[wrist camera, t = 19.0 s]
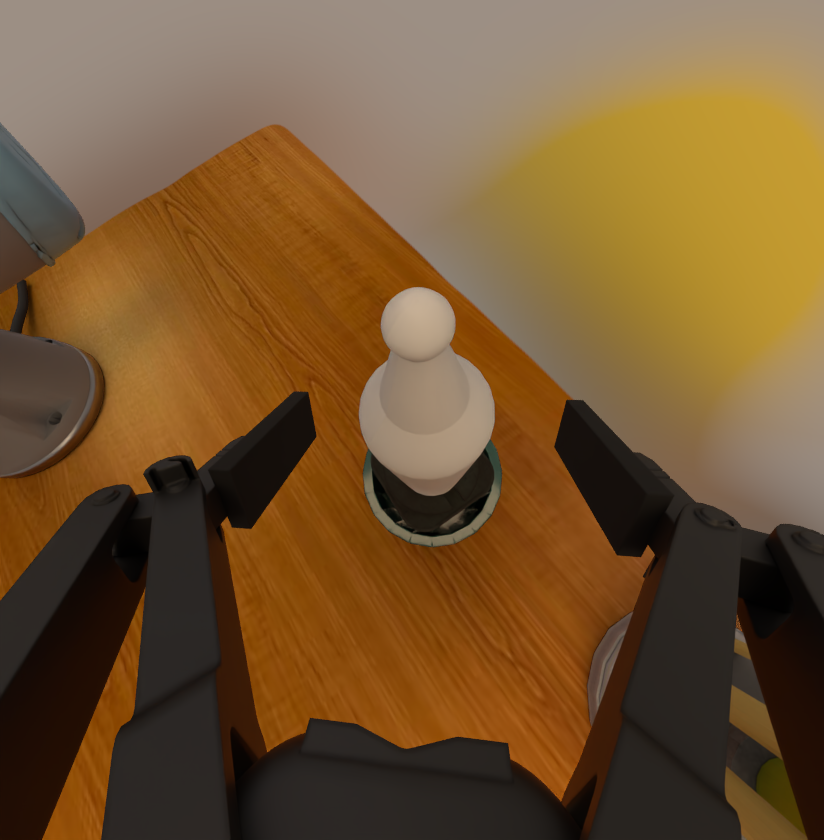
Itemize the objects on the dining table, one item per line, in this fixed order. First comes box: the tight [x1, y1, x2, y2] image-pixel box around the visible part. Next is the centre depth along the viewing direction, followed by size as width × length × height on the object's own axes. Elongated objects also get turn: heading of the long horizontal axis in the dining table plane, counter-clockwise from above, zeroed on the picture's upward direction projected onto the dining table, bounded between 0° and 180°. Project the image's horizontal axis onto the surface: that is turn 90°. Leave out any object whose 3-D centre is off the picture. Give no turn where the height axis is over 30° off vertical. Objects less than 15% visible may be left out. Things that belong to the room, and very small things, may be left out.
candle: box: [359, 287, 495, 532], centre depth 15 cm, size 5×5×25 cm
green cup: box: [363, 440, 502, 547], centre depth 23 cm, size 8×8×10 cm
